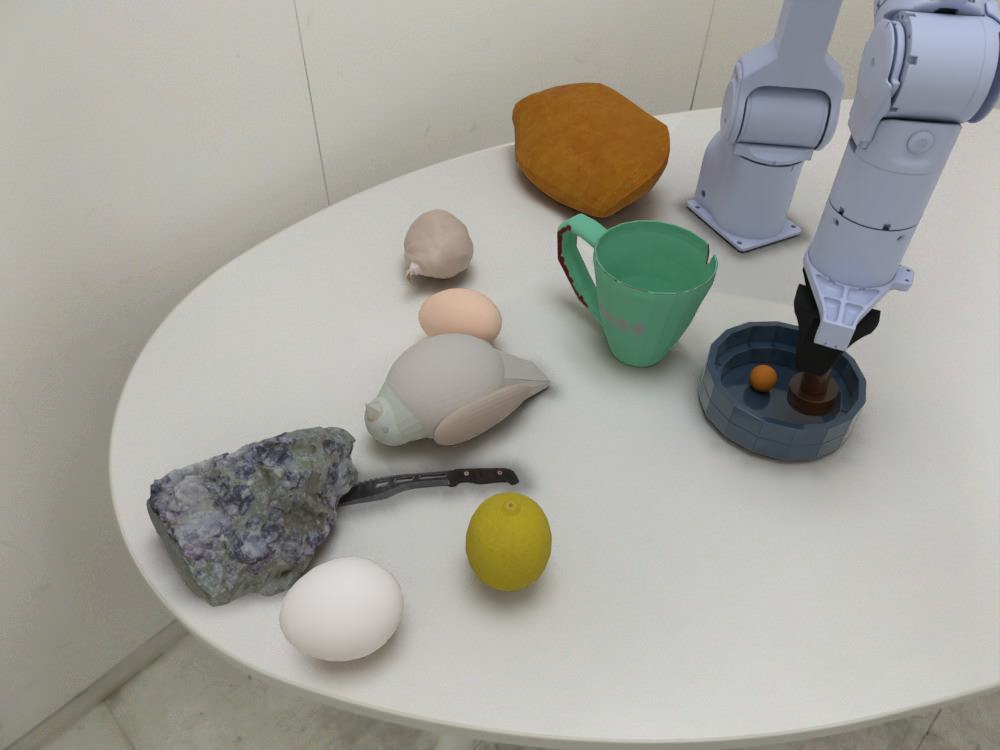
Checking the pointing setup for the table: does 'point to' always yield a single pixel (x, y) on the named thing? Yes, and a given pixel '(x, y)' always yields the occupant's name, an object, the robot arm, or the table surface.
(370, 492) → the knife
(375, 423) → the decorative bird
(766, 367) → the ball
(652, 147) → the bread
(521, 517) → the lemon
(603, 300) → the mug
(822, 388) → the coffee tamper
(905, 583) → the table surface
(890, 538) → the table surface
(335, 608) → the egg
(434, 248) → the garlic bulb
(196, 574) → the mineral rock
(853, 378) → the bowl
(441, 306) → the egg
